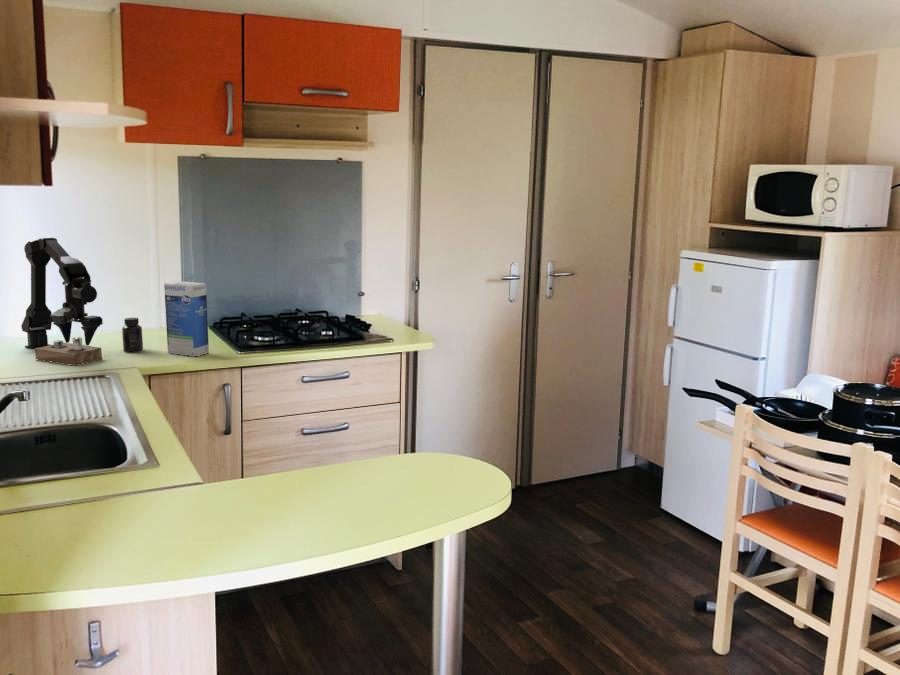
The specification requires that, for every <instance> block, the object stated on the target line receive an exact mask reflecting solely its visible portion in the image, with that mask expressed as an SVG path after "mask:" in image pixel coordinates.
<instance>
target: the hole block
mask: <svg viewBox="0 0 900 675" xmlns="http://www.w3.org/2000/svg"><path fill="white" fill-rule="evenodd" d="M82 346H83V350H82V351H73V343H70V342H68V343H66V342H64V341H63V348H59V349H57V348H54V344H50V345H49V346H45V347H40V348H36V349H34V355H35V360H36V359H38V360H37V361H39V360H45V361H44V362H46V361H52V362H58V363H57V364H59V363H64V364H63V365H65V364H71V365H70V366H72V365H76V366H79V365H78V364H80V365H83V364H82V363H84V364H87V363H86V362H88V363H91V362H90V361H92V362H95V361H94V360H96V361H98V360H97V359H100V360H102V359H103V356H102V354H103V353H102V347H99V346H98V347H97V346H92V345H86V344H85V345H83V344H82ZM101 358H102V359H101ZM52 362H51V363H52Z"/></svg>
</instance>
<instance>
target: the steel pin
mask: <svg viewBox="0 0 900 675" xmlns="http://www.w3.org/2000/svg"><path fill="white" fill-rule="evenodd" d="M71 340H72V344H73V351H82V350H83V346H82V345H83V337H81V336H79V337H76V336H75V337H72V339H71Z"/></svg>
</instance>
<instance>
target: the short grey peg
mask: <svg viewBox="0 0 900 675" xmlns="http://www.w3.org/2000/svg"><path fill="white" fill-rule="evenodd" d="M63 342H64V340H60V339H59V340H54V341H53V345H54V348H57V349H59V348H63Z"/></svg>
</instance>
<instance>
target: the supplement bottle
mask: <svg viewBox="0 0 900 675" xmlns="http://www.w3.org/2000/svg"><path fill="white" fill-rule="evenodd" d="M139 320H140V319H139V318H138V317H126V318H124V320H123V321H124V326H123V327H122V329H121V334H122V348H123V352H125V353H140V352H142V351H143V350H144V342H143V338H144V337H143V328H142V326H141V325H140V321H139Z"/></svg>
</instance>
